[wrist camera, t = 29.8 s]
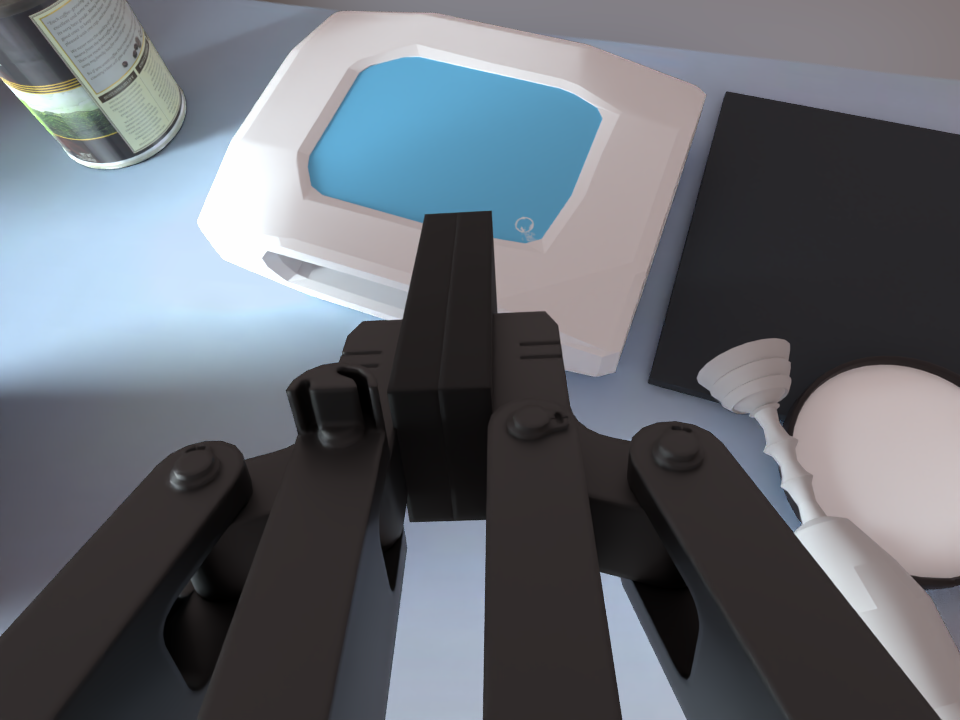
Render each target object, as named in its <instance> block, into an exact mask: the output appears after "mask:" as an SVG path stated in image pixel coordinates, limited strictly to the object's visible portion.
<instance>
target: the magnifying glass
mask: <svg viewBox="0 0 960 720" xmlns="http://www.w3.org/2000/svg"><path fill="white" fill-rule="evenodd" d="M782 427H783V428H784V429H785V431H786V432H787V433H788V435H789V436H792V437H794V438H796V439H798V443H797V445H796V448H795V450H796V456H797V461H798V462H799V463H800V464H801V466H802V467H803V468H804V469H805V470H806V471H807V472H809V473H810V474H812V475H813V479H812V487H813V491H814V495H815V499H816V502H817V503H818V504H819V506H820V507H821V508H822V510H823V511H824V513H825V514H826V515H827V516H831V517H841V518H847V519H849V520H850V521H851V522H853V523H854V524H855V525H856V526H857V527H858V528H860V529H861V530H862V531H863V532H864V533H865V534H866V535H868V536H869V537H870V538H871V539H872V540H873V541H875V542H876V543H877V544H878V545H879V546H880V547H881V548H883V549H884V550H885V551H886V552H887V553H888V554H890V555H891V556H892V557H893V558H894V559H895V560H896V561H897V562H898V563H899V564H900V565H901V566H902V567H903V568H904V569H905V570H906V571H907V572H908V573H909V575H910V576H911V577H912V578H913V579H914V580H915V581H916V582H917V583H918V584H919V585H920V586H921V587H922V588H923V590H926V589H943V588H950V587H954V586H957V585H960V375H959V374H957V373H954V372H952V371H950V370H948V369H946V368H944V367H941V366H938V365H936V364H933V363H930V362H927V361H923V360H919V359H914V358H908V357H901V356H874V357H865V358H861V359H856V360H852V361H850V362H847V363H844V364H841V365H839V366H837V367H835V368H833V369H831V370H829V371H828V372H826V373H825V374H823V375H822V376H820V377H819V378H818V379H816V380H815V381H814V382H813V383H812V384H811V385H810V386H809V387H808V388H807V389H806V390H805V391H804V392H803V393H802V394H801V395H800V396H799V397H798V399H797V400H796V401H795V403H794V404H793V405H792V407H791V409H790V411H789V412H788V414H787V416H786V418H785V421H784V424H783V426H782ZM779 473H780V477H781V481H782V474H781V467H780V466H779ZM784 491H785V494H786V496H787V499H788V502H789V503H790V505H791V507H792V509H793V511H794V513H795V515H796V516H797V518H798V519H799V521H800V522H801V524H802V520H801V516H800V511H799V507H798V505H797V504H796V503H795V501H794V500H793V498H792V497H791V495H790V494H789V493H788V491H786V490H785V489H784Z"/></svg>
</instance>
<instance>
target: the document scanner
mask: <svg viewBox="0 0 960 720" xmlns="http://www.w3.org/2000/svg"><path fill="white" fill-rule="evenodd" d="M705 98H706V94H705V93H704V92H703V91H702V90H701V89H700V88H699V87H697V86H696V85H693V84H690V83H688V82H685V81H682V80H680V79H677V78H675V77H672V76H669V75H667V74H664V73H661V72H659V71H656V70H654V69H651V68H648V67H646V66H643V65H640V64H638V63H635V62H632V61H630V60H627V59H625V58H622V57H619V56H617V55H614V54H611V53H609V52H606V51H604V50H601V49H598V48H596V47H593V46H590V45H587V44H583V43H578V42H573V41H568V40H563V39H558V38H554V37H549V36H544V35H539V34H534V33H530V32H525V31H520V30H515V29H510V28H506V27H501V26H496V25H491V24H486V23H481V22H477V21H471V20H467V19H462V18H457V17H453V16H448V15H443V14H438V13H418V12H373V11H370V12H369V11H338V12H336V13H334V14H332V15H331V16H330V17H329V18H327V19H326V20H325V21H324V22H323V23H322V24H321V25H319V26H318V27H317V28H316V29H315V30H314V31H313V32H312V33H310V34H309V35H308V36H307V37H306V38H305V39H304V40H302V41H301V42H300V43H299V44H298V45H297V46H296V47H295V48H293V49H292V50H291V51H290V53H289V54H288V56H287V57H286V59H285V60H284V62H283V63H282V65H281V66H280V68H279V69H278V71H277V72H276V74H275V75H274V77H273V78H272V80H271V81H270V83H269V84H268V86H267V87H266V89H265V90H264V92H263V93H262V95H261V96H260V98H259V99H258V101H257V102H256V104H255V105H254V107H253V108H252V110H251V111H250V113H249V114H248V116H247V117H246V119H245V120H244V122H243V123H242V125H241V126H240V128H239V129H238V131H237V132H236V134H235V135H234V137H233V138H232V140H231V142H230V144H229V147H228V149H227V152H226V154H225V156H224V159H223V161H222V163H221V166H220V168H219V171H218V173H217V175H216V178H215V180H214V182H213V185H212V187H211V190H210V192H209V194H208V197H207V199H206V201H205V204H204V206H203V209H202V211H201V213H200V216H199V218H198V220H197V223H198V225H199V226H200V228H201V230H202V232H203V234H204V235H205V236H206V238H207V239H208V240H209V242H210V243H211V244H212V246H213V247H214V248H215V249H216V251H217V252H218V253H219V254H220V255H221V257H222V258H223V259H224V260H226V261H228V262H231V263H233V264H236V265H238V266H240V267H243V268H245V269H248V270H250V271H252V272H255V273H257V274H260V275H262V276H264V277H267V278H269V279H272V280H274V281H276V282H279V283H281V284H284V285H286V286H289V287H291V288H293V289H296V290H298V291H301V292H303V293H305V294H308V295H310V296H313V297H316V298H319V299H323V300H326V301H329V302H332V303H335V304H338V305H341V306H345V307H348V308H351V309H354V310H357V311H360V312H363V313H366V314H370V315H373V316H376V317H379V318H382V319H385V320H401V319H403V314H404V310H405V305H406V300H407V296H408V291H409V286H410V281H411V277H412V272H413V267H414V263H415V258H416V253H417V249H418V244H419V239H420V235H421V230H422V225H423V221H424V216H425V214H437V213H455V212H474V211H492V222H493V240H494V258H495V276H496V293H497V311H498V313H513V312H534V311H546V312H547V314H548V315H549V316H550V317H551V318H552V319H553V320H554V321H555V322H556V323H557V324H558V327H559V334H560V341H561V348H562V355H563V361H564V368H565V370H566V371H571V372H575V373H580V374H584V375H589V376H593V377H598V376H603V375H607V374H611V373H615V372H616V369H617V366H618V363H619V360H620V357H621V354H622V351H623V348H624V345H625V342H626V339H627V336H628V333H629V330H630V327H631V324H632V321H633V318H634V315H635V312H636V309H637V306H638V303H639V301H640V299H641V296H642V293H643V290H644V287H645V284H646V281H647V278H648V275H649V272H650V269H651V266H652V263H653V260H654V256H655V253H656V250H657V247H658V244H659V241H660V238H661V235H662V232H663V229H664V226H665V223H666V220H667V217H668V214H669V211H670V208H671V205H672V202H673V199H674V196H675V193H676V190H677V187H678V184H679V181H680V178H681V175H682V172H683V169H684V165H685V162H686V159H687V156H688V153H689V150H690V147H691V144H692V141H693V138H694V135H695V132H696V129H697V125H698V122H699V118H700V115H701V112H702V108H703V105H704V101H705Z"/></svg>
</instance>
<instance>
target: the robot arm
mask: <svg viewBox="0 0 960 720" xmlns="http://www.w3.org/2000/svg"><path fill="white" fill-rule="evenodd" d="M286 392H287V396H288V400H289V403H290V407H291V410H292V414H293V417H294V421H295V424H296V428H297V432H298V436H297V439H296V442H295V444H293V445H291V446H289V447H287V448H285V449H282V450H279V451H276V452H273V453H269V454H265V455H261V456H257V457H254V458H250V459H246V460H244V457H243V454H242V453H241V451H240V450H239V449H238V448H237V447H236V446H235V445H232V444H229V443H226V442H223V441H204V442H200V443H196V444H192V445H188V446H186V447H184V448H182V449H180V450H178V451H176V452H174V453H172V454H170V455H169V456H168V457H167V458H165V459H164V460H163V461H162V462H160V463H159V464H158V465H157V466H156V467H155V468H154V469H153V470H152V471H151V472H150V474H149V475H148V476H147V477H146V478H145V479H144V480H143V481H142V482H141V483H140V485H139V486H138V487H137V488H136V489H135V490H134V491H133V492H132V493H131V494H130V495H129V497H128V498H127V499H126V500H125V501H124V502H123V503H122V504H121V505H120V506H119V507H118V509H117V510H116V511H115V512H114V513H113V514H112V515H111V516H110V517H109V518H108V519H107V521H106V522H105V523H104V524H103V525H102V526H101V527H100V528H99V529H98V530H97V532H96V533H95V534H94V535H93V536H92V537H91V538H90V539H89V540H88V541H87V542H86V544H85V545H84V546H83V547H82V548H81V549H80V550H79V551H78V552H77V553H76V554H75V556H74V557H73V558H72V559H71V560H70V561H69V562H68V563H67V564H66V565H65V566H64V568H63V569H62V570H61V571H60V572H59V573H58V574H57V575H56V576H55V577H54V578H53V580H52V581H51V582H50V583H49V584H48V585H47V586H46V587H45V588H44V589H43V591H42V592H41V593H40V594H39V595H38V596H37V597H36V598H35V599H34V600H33V601H32V603H31V604H30V605H29V606H28V607H27V608H26V609H25V610H24V611H23V612H22V613H21V615H20V616H19V617H18V618H17V619H16V620H15V621H14V622H13V623H12V624H11V625H10V627H9V628H8V629H7V630H6V631H5V632H4V633H3V634H2V635H1V636H0V720H385V716H386V708H387V700H388V692H389V685H390V677H391V669H392V661H393V654H394V646H395V638H396V630H397V622H398V615H399V607H400V599H401V591H402V584H403V576H404V568H405V560H406V553H407V544H406V536H405V531H404V525H403V524H404V517H405V510H406V503H407V509H408V515H409V520H410V522H430V521H462V520H486V565H485V627H484V688H483V720H622V715H621V708H620V702H619V695H618V688H617V682H616V675H615V669H614V662H613V655H612V649H611V642H610V636H609V629H608V623H607V616H606V609H605V603H604V596H603V590H602V583H601V576H600V572H602V573H606V574H610V575H614V576H618V577H621V581H622V585H623V587H624V589H625V591H626V594H627V596H628V598H629V600H630V602H631V604H632V606H633V608H634V610H635V612H636V614H637V616H638V619H639V621H640V623H641V625H642V627H643V629H644V631H645V633H646V635H647V637H648V639H649V642H650V644H651V646H652V648H653V650H654V652H655V654H656V656H657V658H658V660H659V662H660V664H661V667H662V669H663V671H664V673H665V675H666V677H667V679H668V681H669V683H670V685H671V687H672V690H673V692H674V694H675V696H676V698H677V700H678V702H679V704H680V706H681V708H682V710H683V712H684V715H685V717H686V719H687V720H942V719H941V718H940V717H939V716H938V714H937V713H936V712H935V710H934V709H933V708H932V707H931V705H930V704H929V703H928V702H927V700H926V699H925V698H924V697H923V695H922V694H921V693H920V692H919V690H918V689H917V688H916V687H915V685H914V684H913V683H912V681H911V680H910V679H909V678H908V676H907V675H906V674H905V673H904V671H903V670H902V669H901V668H900V666H899V665H898V664H897V663H896V661H895V660H894V659H893V657H892V656H891V655H890V654H889V652H888V651H887V650H886V649H885V647H884V646H883V645H882V644H881V642H880V641H879V640H878V639H877V637H876V636H875V635H874V634H873V632H872V631H871V630H870V628H869V627H868V626H867V625H866V623H865V622H864V621H863V620H862V618H861V617H860V616H859V615H858V613H857V612H856V611H855V610H854V608H853V607H852V606H851V604H850V603H849V602H848V601H847V599H846V598H845V597H844V596H843V594H842V593H841V592H840V591H839V589H838V588H837V587H836V586H835V584H834V583H833V582H832V580H831V579H830V578H829V577H828V575H827V574H826V573H825V572H824V570H823V569H822V568H821V567H820V565H819V564H818V563H817V562H816V560H815V559H814V558H813V557H812V555H811V554H810V553H809V551H808V550H807V549H806V548H805V546H804V545H803V544H802V543H801V541H800V540H799V539H798V538H797V536H796V535H795V534H794V533H793V531H792V530H791V529H790V527H789V526H788V525H787V524H786V522H785V521H784V520H783V519H782V517H781V516H780V515H779V514H778V512H777V511H776V510H775V509H774V507H773V506H772V505H771V504H770V502H769V501H768V500H767V498H766V497H765V496H764V495H763V493H762V492H761V491H760V490H759V488H758V487H757V486H756V485H755V483H754V482H753V481H752V480H751V478H750V477H749V476H748V474H747V473H746V472H745V471H744V469H743V468H742V467H741V466H740V464H739V463H738V462H737V461H736V459H735V458H734V457H733V456H732V454H731V453H730V452H729V450H728V449H727V448H726V447H725V445H724V444H723V443H722V442H721V441H720V440H719V439H717V438H716V437H715V436H714V435H713V434H712V433H711V432H709V431H707V430H704V429H702V428H700V427H698V426H696V425H693V424H687V423H682V422H676V421H673V422H657V423H655V424H652V425H649V426H646V427H644V428H642V429H641V430H640V431H639V432H638V433H636V434H635V435H634V436H633V437H632V441H627V440H622V439H616V438H612V437H608V436H604V435H601V434H598V433H596V432H594V431H592V430H590V429H588V428H586V427H585V426H584V425H583V424H581V423H580V422H579V421H578V420H577V419H576V417H575V416H574V415H573V413H572V410H571V407H570V402H569V395H568V388H567V382H566V375H565V368H564V361H563V355H562V348H561V341H560V334H559V327H558V324H557V323H556V322H555V321H554V320H553V319H552V318H551V317H550V316H549V315H548V314H547V312H546V311H534V312H513V313H498V311H497V293H496V276H495V258H494V240H493V222H492V211H474V212H455V213H437V214H425V216H424V221H423V225H422V230H421V235H420V239H419V244H418V249H417V253H416V258H415V263H414V267H413V272H412V277H411V281H410V286H409V291H408V296H407V300H406V305H405V310H404V314H403V319H401V320H379V321H363V322H361V323H360V324H359V325H358V326H357V327H356V328H355V329H354V330H353V331H352V332H351V333H350V334H349V335H348V336H347V339H346V342H345V345H344V348H343V351H342V356H341V357H340V360H339V362H338V363H332V364H325V365H321V366H318V367H316V368H313V369H310V370H308V371H306V372H304V373H303V374H301V375H300V376H298V377H297V378H296V379H294V380H293V381H292V383H291V384H290V386H289V387H288V388H287V390H286Z"/></svg>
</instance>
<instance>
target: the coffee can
mask: <svg viewBox="0 0 960 720" xmlns="http://www.w3.org/2000/svg"><path fill="white" fill-rule="evenodd" d="M0 78H1V79H2V80H3V82H4V83H5V84H6V85H7V86H8V87H9V88H10V89H11V90H12V92H13V93H14V94H15V95H16V96H17V97H18V98H19V99H20V100H21V102H22V103H23V104H24V105H25V106H26V107H27V108H28V109H29V110H30V111H31V113H32V114H33V115H34V116H35V117H36V118H37V119H38V120H39V122H40V123H41V124H42V125H43V126H44V127H45V128H46V129H47V131H48V132H49V133H50V134H51V135H52V136H53V137H54V138H55V139H56V141H57V142H58V143H59V144H60V145H61V146H62V147H63V149H64V150H65V152H66V153H67V154H68V155H69V156H70V157H71V158H72V159H73V160H75V161H76V162H78V163H80V164H82V165H84V166H87V167H90V168H95V169H118V168H123V167H127V166H131V165H134V164H137V163H139V162H142V161H144V160H146V159H148V158H149V157H151V156H153V155H155V154H156V153H158V152H159V151H160V150H162V149H163V148H164V147H165V146H166V145H167V144H168V143H169V142H170V141H171V140H172V139H173V138H174V137H175V135H176V134H177V133H178V131H179V130H180V128H181V126H182V123H183V120H184V118H185V114H186V100H185V96H184V94H183V91H182V89H181V88H180V87H179V86H178V84H177V83H176V82H175V80H174V79H173V77H172V75H171V74H170V72H169V70H168V69H167V67H166V65H165V64H164V62H163V60H162V59H161V57H160V55H159V54H158V52H157V51H156V49H155V47H154V46H153V44H152V42H151V41H150V39H149V37H148V36H147V34H146V32H145V31H144V29H143V27H142V26H141V24H140V22H139V21H138V19H137V17H136V16H135V14H134V12H133V11H132V9H131V7H130V6H129V4H128V3H127V1H126V0H0Z"/></svg>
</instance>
